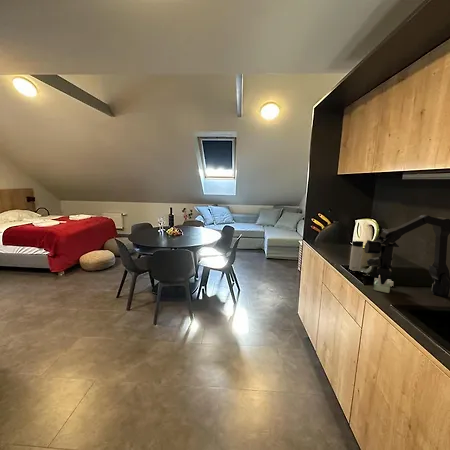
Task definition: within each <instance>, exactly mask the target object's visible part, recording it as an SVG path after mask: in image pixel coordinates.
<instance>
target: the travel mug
mask: <svg viewBox="0 0 450 450" xmlns="http://www.w3.org/2000/svg"><path fill="white" fill-rule="evenodd" d="M351 241H352V240H351ZM351 243H352V244H351V251H350V258H349V259H350V260H349V267H348V270H349V269H350V270H352V271H360V272H361V267H362V266H361V265H362V256H363V249H364V248H363V247H364V241H362V240H355V241H354V240H353V241H352V242H351Z"/></svg>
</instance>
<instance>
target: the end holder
mask: <svg viewBox="0 0 450 450" xmlns="http://www.w3.org/2000/svg"><path fill="white" fill-rule="evenodd" d="M373 289H374V290H373V291H378V292H382V293H387V294H390V290H391V286H390V283H387V286H382V285H378V281H375V283H374V282H373Z"/></svg>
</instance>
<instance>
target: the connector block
mask: <svg viewBox="0 0 450 450" xmlns="http://www.w3.org/2000/svg"><path fill="white" fill-rule="evenodd" d="M378 285H382V286H387V280H386V282H385V283H384V284H381V278H380V274H379V275H378Z"/></svg>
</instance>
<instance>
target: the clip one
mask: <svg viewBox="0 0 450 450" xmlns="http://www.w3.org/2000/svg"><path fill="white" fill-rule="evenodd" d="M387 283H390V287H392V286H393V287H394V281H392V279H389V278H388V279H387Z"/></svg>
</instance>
